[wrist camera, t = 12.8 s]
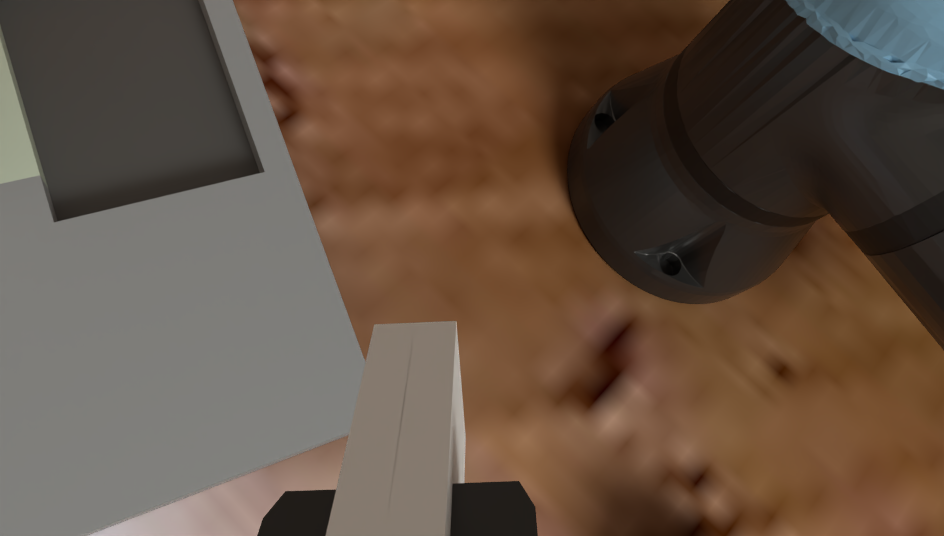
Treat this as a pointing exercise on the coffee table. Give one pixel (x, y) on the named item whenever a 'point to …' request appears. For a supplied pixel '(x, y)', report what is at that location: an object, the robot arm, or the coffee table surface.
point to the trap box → (152, 267)
